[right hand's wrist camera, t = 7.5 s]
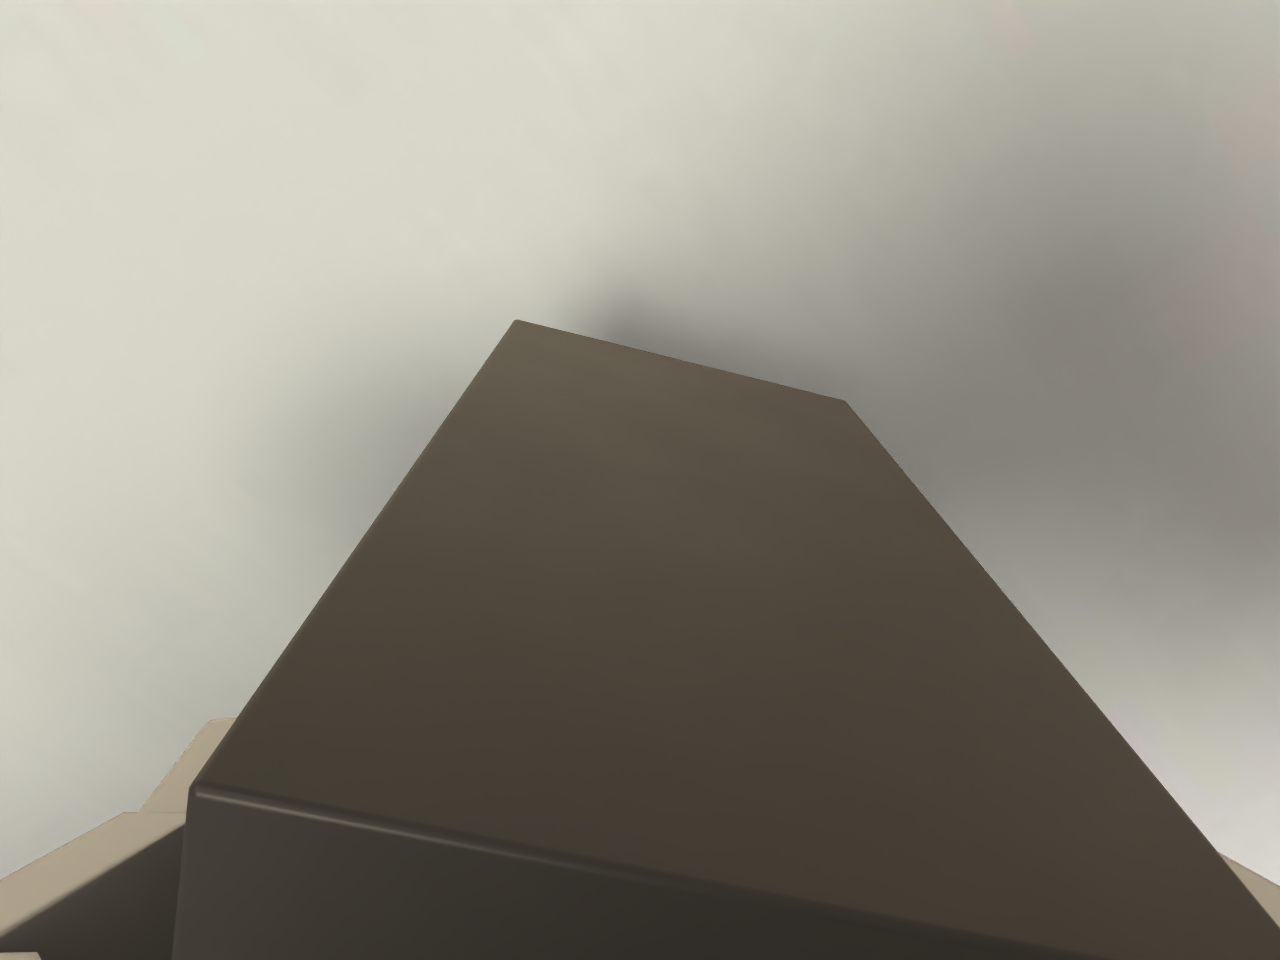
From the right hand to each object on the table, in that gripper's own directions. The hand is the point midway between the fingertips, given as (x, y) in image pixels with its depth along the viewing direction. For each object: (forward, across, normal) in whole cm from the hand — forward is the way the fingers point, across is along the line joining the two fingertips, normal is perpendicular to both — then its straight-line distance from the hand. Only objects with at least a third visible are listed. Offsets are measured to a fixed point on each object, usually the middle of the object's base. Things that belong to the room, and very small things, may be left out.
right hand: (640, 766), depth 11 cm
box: (+7, -2, -7) cm, 10 cm away
